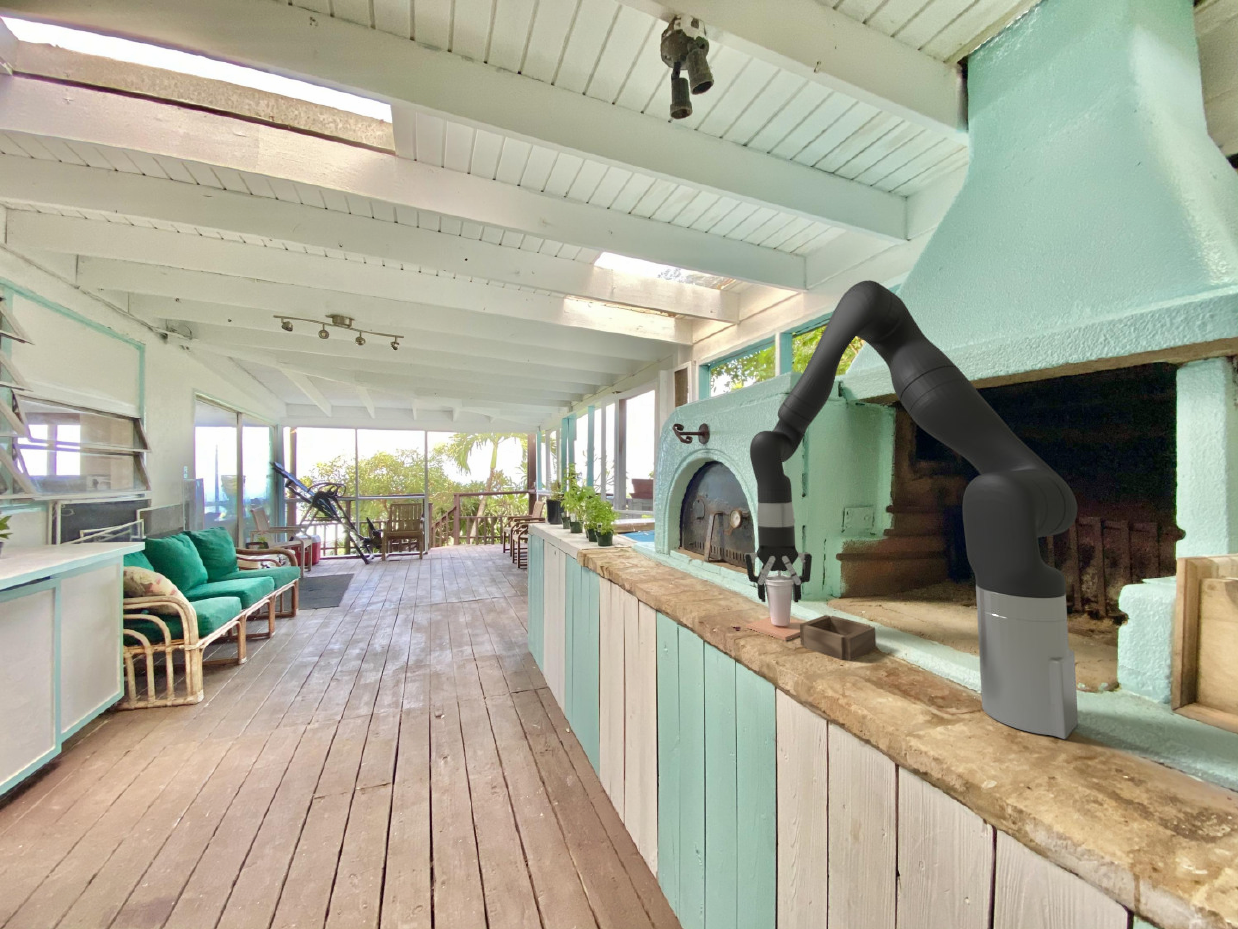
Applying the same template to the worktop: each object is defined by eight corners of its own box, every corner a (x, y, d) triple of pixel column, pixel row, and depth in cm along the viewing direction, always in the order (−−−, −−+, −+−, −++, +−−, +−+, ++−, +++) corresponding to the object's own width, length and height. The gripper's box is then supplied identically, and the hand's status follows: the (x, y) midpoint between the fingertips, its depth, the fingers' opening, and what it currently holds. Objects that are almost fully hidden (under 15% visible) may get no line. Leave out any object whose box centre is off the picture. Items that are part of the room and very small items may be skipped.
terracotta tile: (815, 630, 98) (814, 626, 98) (785, 641, 92) (785, 637, 92) (775, 618, 106) (775, 615, 106) (746, 628, 101) (746, 624, 101)
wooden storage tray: (877, 648, 87) (876, 626, 87) (848, 662, 82) (847, 639, 82) (828, 633, 96) (827, 614, 96) (798, 645, 90) (797, 625, 90)
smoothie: (801, 622, 99) (798, 556, 99) (787, 630, 95) (784, 561, 95) (773, 616, 104) (770, 554, 104) (759, 623, 99) (756, 558, 100)
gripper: (807, 520, 102) (811, 597, 102) (740, 522, 105) (743, 596, 104) (815, 524, 95) (819, 607, 94) (742, 526, 97) (746, 606, 97)
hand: (779, 601), depth 99 cm, fingers closed on smoothie, 6 cm apart
